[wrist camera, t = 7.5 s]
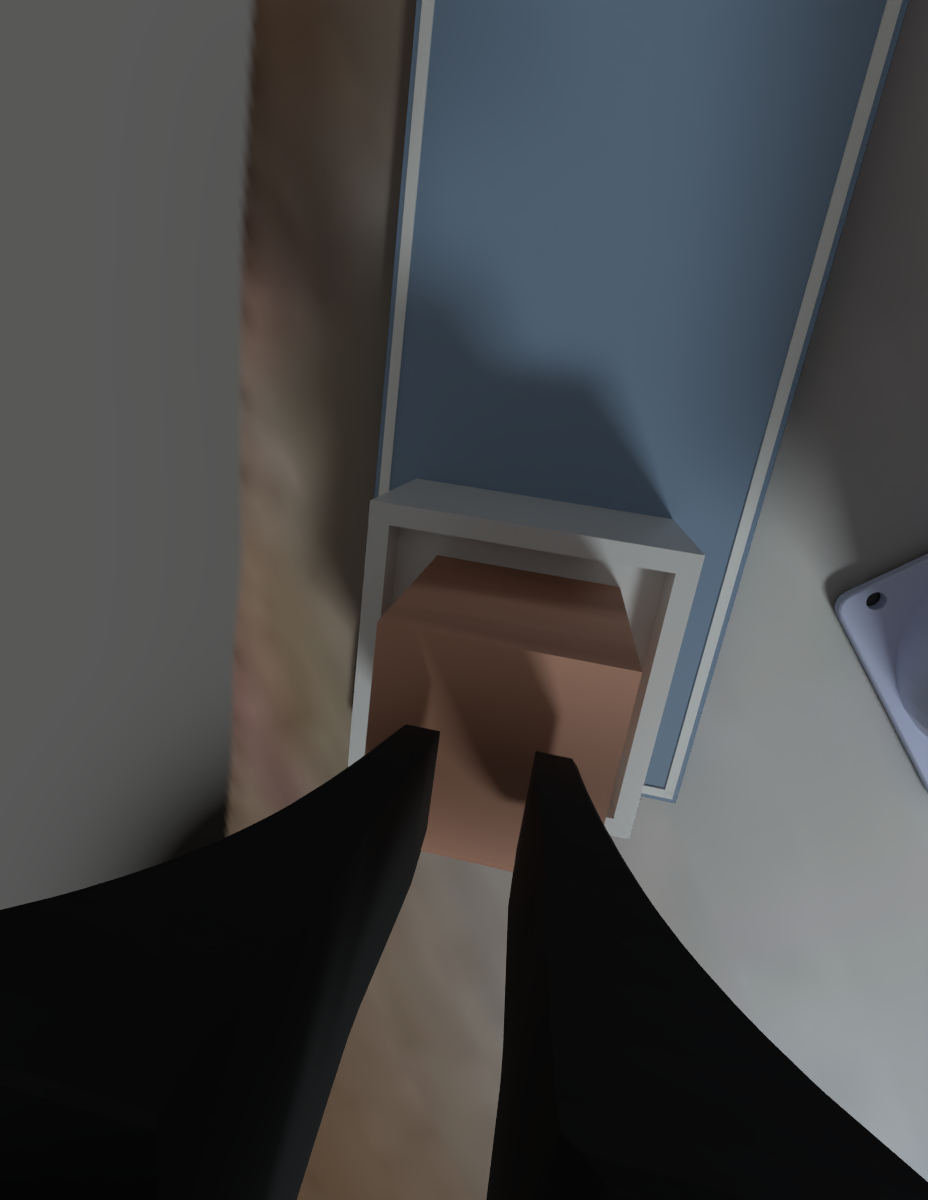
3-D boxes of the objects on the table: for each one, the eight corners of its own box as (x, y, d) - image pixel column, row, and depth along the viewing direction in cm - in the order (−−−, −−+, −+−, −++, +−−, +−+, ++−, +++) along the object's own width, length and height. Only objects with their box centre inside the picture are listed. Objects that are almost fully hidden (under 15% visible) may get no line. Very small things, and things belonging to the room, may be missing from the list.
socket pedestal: (416, 478, 18) (370, 500, 14) (672, 518, 17) (705, 555, 13) (392, 701, 21) (346, 777, 16) (616, 746, 20) (628, 838, 16)
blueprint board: (431, -60, 15) (423, -86, 14) (907, -34, 14) (928, -62, 13) (361, 724, 22) (353, 736, 21) (671, 788, 21) (675, 804, 20)
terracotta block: (437, 555, 15) (377, 621, 11) (620, 587, 15) (642, 672, 10) (417, 714, 17) (357, 835, 12) (583, 748, 16) (587, 888, 11)
